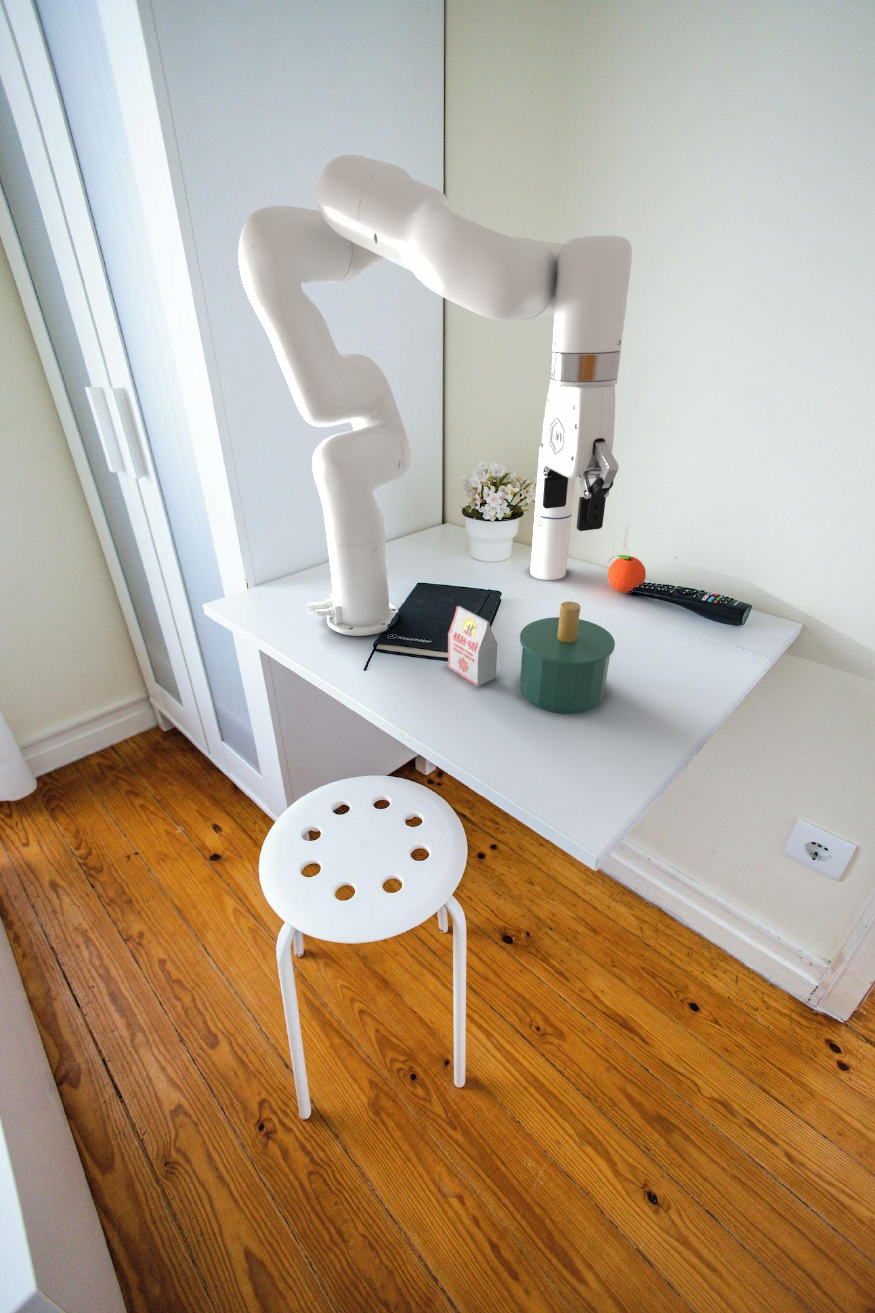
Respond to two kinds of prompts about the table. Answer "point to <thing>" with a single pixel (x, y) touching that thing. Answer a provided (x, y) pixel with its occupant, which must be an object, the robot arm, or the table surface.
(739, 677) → the table surface
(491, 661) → the tea bag
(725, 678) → the table surface
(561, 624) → the tin lid
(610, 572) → the clementine
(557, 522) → the cylindrical container
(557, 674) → the tin
